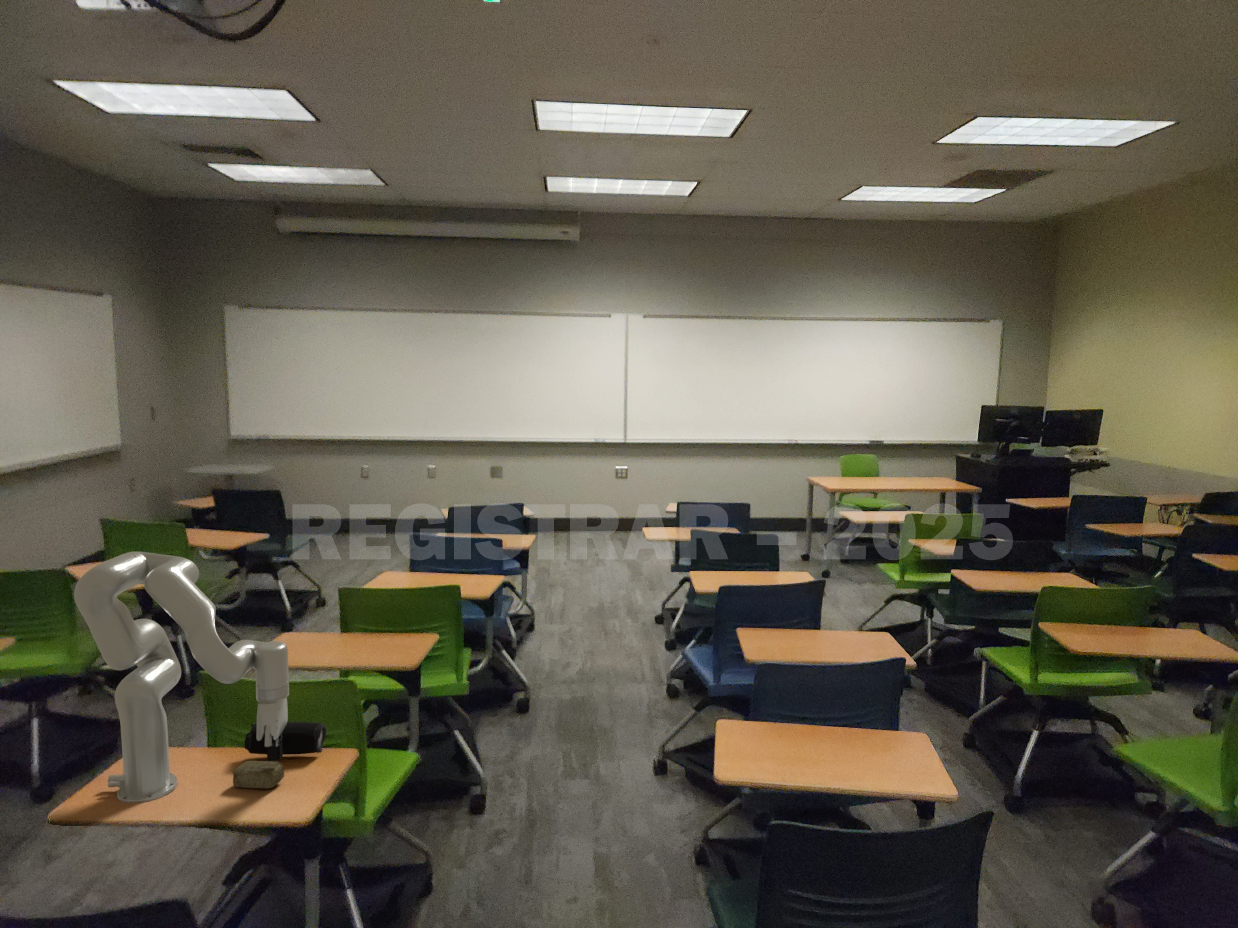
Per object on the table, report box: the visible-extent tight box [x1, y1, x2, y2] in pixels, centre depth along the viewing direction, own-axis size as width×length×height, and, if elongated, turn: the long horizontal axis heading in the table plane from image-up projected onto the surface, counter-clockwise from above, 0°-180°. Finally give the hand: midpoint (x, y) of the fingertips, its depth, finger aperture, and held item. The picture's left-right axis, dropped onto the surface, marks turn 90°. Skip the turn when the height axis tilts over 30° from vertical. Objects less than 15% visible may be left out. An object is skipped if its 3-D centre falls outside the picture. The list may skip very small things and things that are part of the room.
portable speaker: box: [243, 721, 328, 756], centre depth 195 cm, size 9×9×20 cm
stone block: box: [232, 760, 285, 789], centre depth 179 cm, size 6×12×5 cm, turn 83°
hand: (274, 758), depth 178 cm, fingers closed
